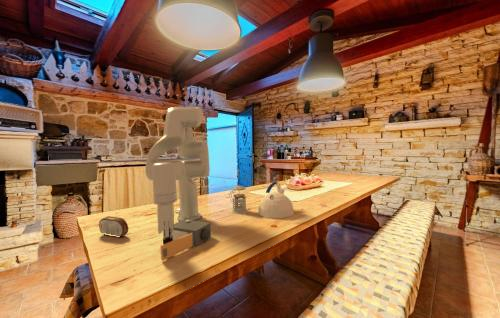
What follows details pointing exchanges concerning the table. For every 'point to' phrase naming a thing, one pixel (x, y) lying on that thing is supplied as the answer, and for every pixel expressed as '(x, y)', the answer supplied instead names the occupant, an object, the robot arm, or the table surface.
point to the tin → (113, 226)
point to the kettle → (275, 204)
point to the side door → (176, 246)
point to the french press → (239, 200)
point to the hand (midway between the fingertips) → (168, 248)
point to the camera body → (192, 230)
